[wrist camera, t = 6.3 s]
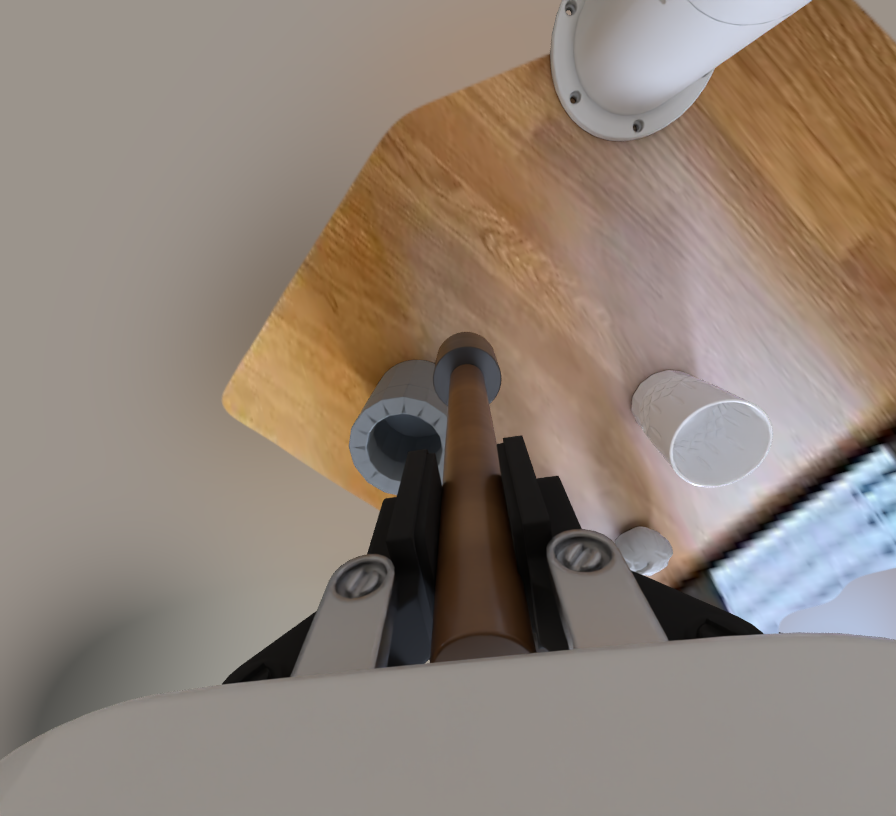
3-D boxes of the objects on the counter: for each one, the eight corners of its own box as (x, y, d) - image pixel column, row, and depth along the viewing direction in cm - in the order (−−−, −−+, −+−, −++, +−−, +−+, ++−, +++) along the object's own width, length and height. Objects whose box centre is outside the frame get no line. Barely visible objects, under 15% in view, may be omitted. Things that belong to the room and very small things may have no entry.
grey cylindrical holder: (367, 366, 42) (336, 406, 32) (452, 353, 41) (449, 389, 31) (386, 443, 45) (364, 502, 35) (466, 432, 44) (467, 489, 34)
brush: (431, 337, 25) (350, 601, 6) (491, 327, 25) (590, 575, 6) (442, 392, 26) (399, 751, 8) (498, 384, 26) (600, 735, 7)
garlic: (608, 557, 50) (624, 591, 45) (609, 521, 48) (625, 552, 43) (659, 553, 49) (681, 587, 45) (662, 516, 48) (685, 547, 43)
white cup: (627, 366, 41) (676, 402, 32) (709, 360, 41) (783, 396, 31) (622, 437, 44) (664, 490, 35) (698, 433, 44) (762, 485, 34)
